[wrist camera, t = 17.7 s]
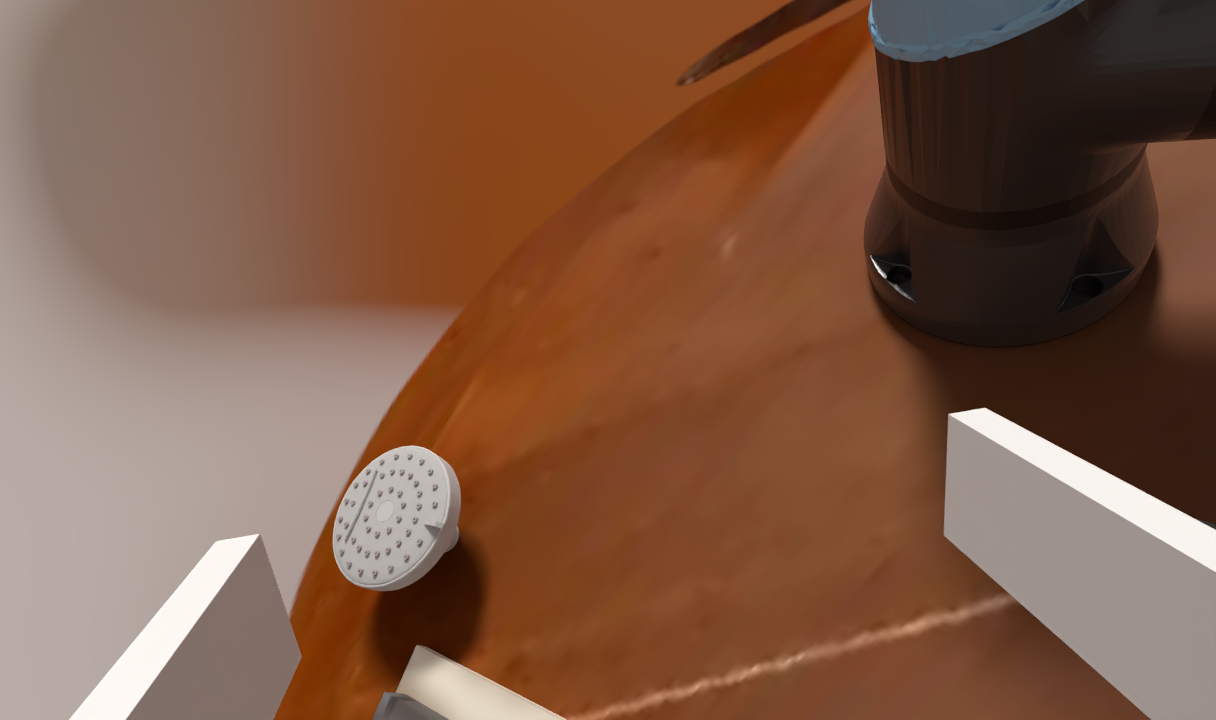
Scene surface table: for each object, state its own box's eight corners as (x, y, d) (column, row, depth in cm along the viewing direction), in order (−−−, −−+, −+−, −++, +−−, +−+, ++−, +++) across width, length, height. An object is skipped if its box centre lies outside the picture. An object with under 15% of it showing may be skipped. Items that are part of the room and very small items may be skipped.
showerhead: (408, 604, 37) (298, 565, 42) (479, 623, 42) (375, 586, 47) (468, 451, 40) (360, 431, 45) (526, 487, 46) (425, 466, 51)
